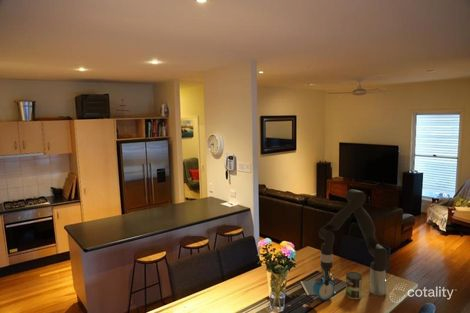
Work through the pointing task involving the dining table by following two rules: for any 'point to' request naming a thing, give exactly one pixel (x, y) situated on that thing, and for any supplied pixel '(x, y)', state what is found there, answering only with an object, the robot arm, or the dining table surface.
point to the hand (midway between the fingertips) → (326, 285)
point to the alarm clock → (323, 289)
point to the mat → (309, 287)
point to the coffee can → (354, 285)
